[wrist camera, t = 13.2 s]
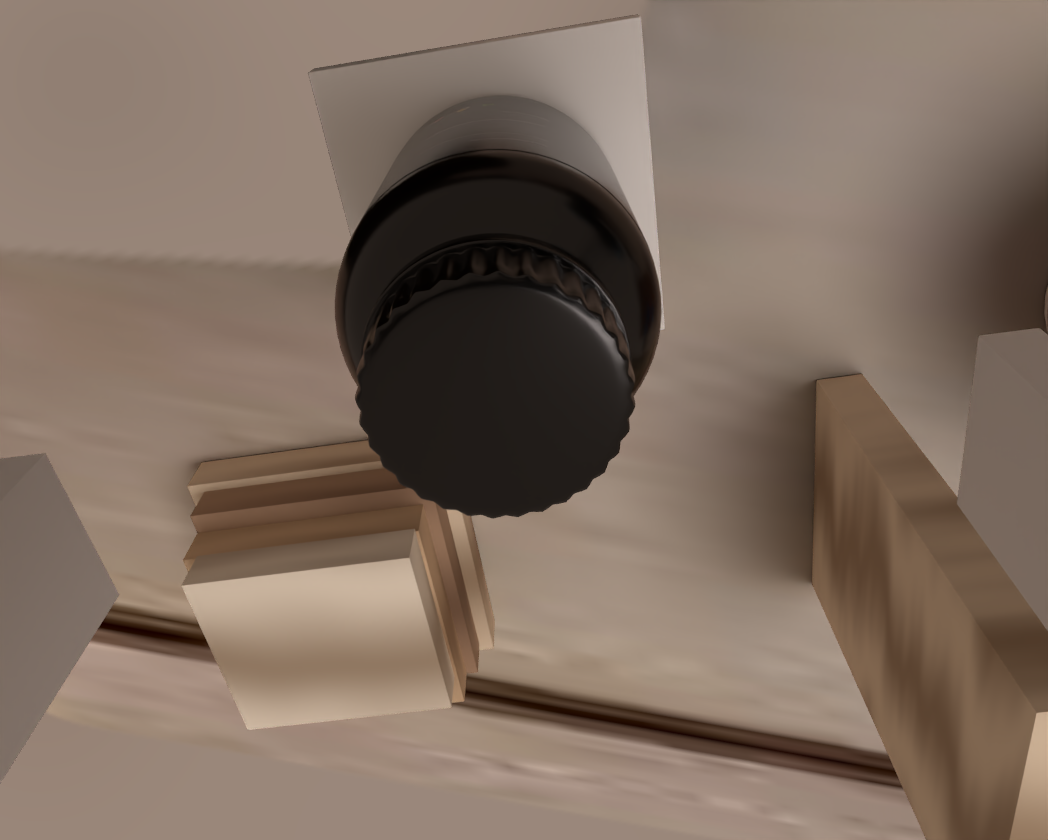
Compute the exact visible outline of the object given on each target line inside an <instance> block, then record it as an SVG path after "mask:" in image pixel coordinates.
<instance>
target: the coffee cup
mask: <svg viewBox="0 0 1048 840" xmlns="http://www.w3.org/2000/svg"><path fill="white" fill-rule="evenodd" d="M1044 315H1045V321H1046V327H1047V332H1048V287H1047V290H1046V294H1045V308H1044Z"/></svg>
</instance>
